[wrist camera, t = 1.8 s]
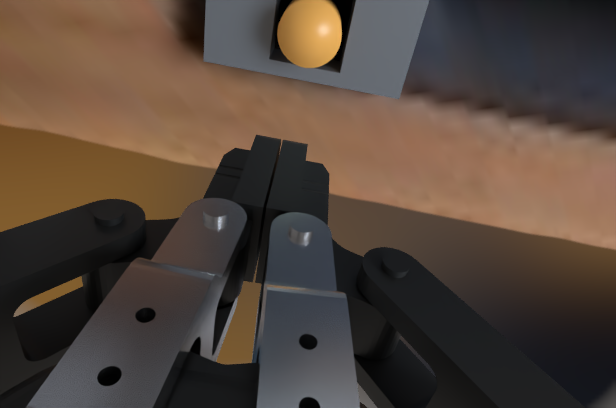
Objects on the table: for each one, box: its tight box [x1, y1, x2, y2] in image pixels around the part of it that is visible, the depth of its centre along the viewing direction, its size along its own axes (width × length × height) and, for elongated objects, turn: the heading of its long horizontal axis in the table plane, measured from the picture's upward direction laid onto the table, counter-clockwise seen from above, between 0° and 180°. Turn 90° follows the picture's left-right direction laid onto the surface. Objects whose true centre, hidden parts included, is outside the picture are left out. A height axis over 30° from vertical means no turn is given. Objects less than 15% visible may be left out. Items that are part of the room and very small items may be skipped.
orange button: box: [277, 0, 342, 68], centre depth 28 cm, size 4×4×4 cm
